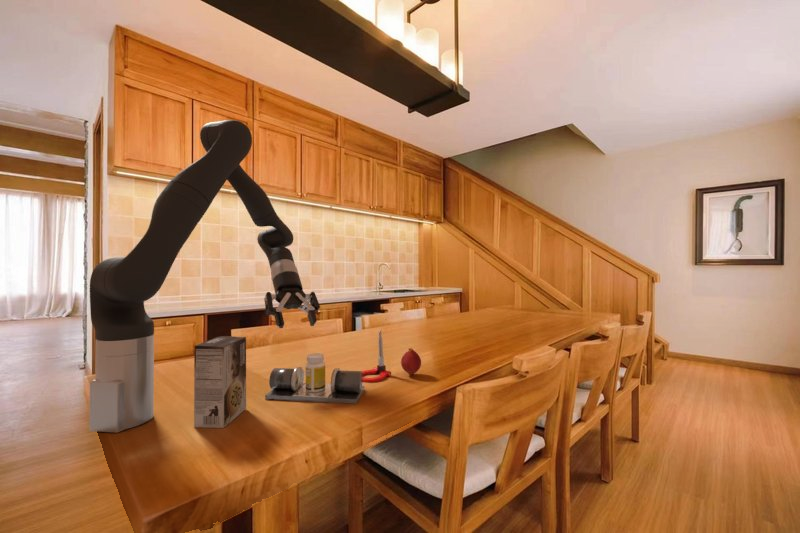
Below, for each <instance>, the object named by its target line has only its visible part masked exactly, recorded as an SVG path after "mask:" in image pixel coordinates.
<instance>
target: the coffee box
mask: <svg viewBox="0 0 800 533" xmlns="http://www.w3.org/2000/svg"><path fill="white" fill-rule="evenodd" d="M193 349H194V351H193V352H194V356H193V357H194V362H193V363H194V367H193V368H194V369H193V370H194V371H193V372H194V379H193V380H194V381H193V383H194V384H193V385H194V389H193V393H194V394H193V397H194V398H193V399H194V400H193V404H194V405H193V428H211V429H213V428H214V429H215V428H217V429H225V428H226V427H227V426H228V425H229V424H230V423H232V422H233V421H234V420H235V419H236V418H237V417H239V416H240V415H241V414H242V413H243V412H244V411H245V410H246V409H247V336H232V335H231V336H228V335H224V336H222V335H220V336H216V337H214V338H212V339H209V340H205V341H203V342H201V343H198V344H195V345H194V348H193Z"/></svg>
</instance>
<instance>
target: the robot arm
mask: <svg viewBox="0 0 800 533" xmlns="http://www.w3.org/2000/svg"><path fill="white" fill-rule="evenodd" d="M199 138H200V143H201V145H202V147H203V149H204V150H205V154H203V156H202V157H200V158H199V159H196V161H194V162H192V163H191V164H190V165H188V166H187V167H185V168H183V169H182V170H181V171H180V172H178V173H177V174H175V176H173V177H172V178H171V180H170V181H169V182H168V183H167V184H166V186H165V187H164V188H163V190H162V191H161V193H160V194H159V195H158V197H157V198H156V200H155V202H154V204H153V208H152V212H151V218H150V223H149V225H148V227H147V230H146V232H145V233H144V235H143V236H142V238H141V239H140V240H139V242H138V243H137V244H136V245H135V247H134V248H133V249H132V250H131V251H130V252H129V253H128V254H127V255H126V256H123V257H122V256H117V257H110V258H107V259H104V260H102V261H101V262H99V263H98V264H97V265H96V266H95V267H94V269H92V270H93V271H92V272H91V275H90V281H89V306H90V308H89V309H90V321H91V324H92V326H93V329H94V334H95V350H94V351H95V360H94V363H95V364H94V365H95V366H94V367H95V368H94V371H95V372H94V379H92V380H90V382H89V418H88V419H89V422H88V423H89V427H88V428H89V429H88V431H89V432H102V433H103V432H104V433H116V434H117V433H120V432H122V431H124V430H129V429H132V428H135V427H138V426H141V425H143V424H145V423H147V422H149V421H150V420H152V419H153V418H154V412H155V411H154V408H155V406H154V401H155V400H154V396H155V395H154V394H155V393H154V390H155V389H154V387H155V386H154V385H155V384H154V383H155V379H154V378H155V373H154V371H155V370H154V369H155V362H154V361H155V351H154V350H155V323H154V320H153V318H151V317H150V316H149V315H148V313H147V312H146V309H145V302H146V301H148V300H150V299H151V298H153V297H155V296H156V295H157V293H158V292H159V291H160V289H161V288H162V286H163V284H164V282H165V281H166V279H167V277H168V274H169V273H170V271H171V269H172V267H173V264H174V262H175V260H176V258H177V256H178V254H179V253H180V252H181V250H182V248H183V246H184V245H185V243H186V242H187V241H188V240H189V238H190V236H191V235H192V233H193V231H194V230H195V229H196V227H197V225H198V224H199V222H200V221H201V220H202V219H203V216H204V215H205V214H206V213H207V211H208V209H209V208H210V206H211V205H212V203H213V201H214V199H215V198H216V196H217V195H218V194H219V192H220V190H221V189H222V187H223V186H224V184H225V183H226V181H228V183H229V184H230V185H231V187H232V188H233V189H234V191H235V192H236V194H237V195H238V197H239V198H240V200H241V202H242V203H243V206H245V209H246V211H247V213H248V214H249V216H250V218H251V220H252V222H253V224H255V226H257V227H260V228H262V227H263V228H264V227H270V228H269V229H265V230H262V231H261V232H259V233H258V235H257V238H256V239H257V244H258V246H259V247H260V248H261V250H262V252H263V253H264V254H265V256H266V258H267V261H268V264H269V268H270V275H271V281H272V285H273V290H274V293H272V292H270V291H267V292H266V294H265V296H264V306H265V314H266V315H267V316H273V317H274V320H275V324H276V326H277V327H278V328H279V329H283V328H284V326H285V321H284V317H283V312H282V311H283V309H286V310H292V309H295V310H297V309H299V310H300V311H301V312H304V313H306V314H307V319H308V321H309V325H310V327H314V326H315V324H316V323H317V320H318V319H317V315H316V314H317V313H318V312H319V309H320V308H321V306H320V303H319V301H318V297H317V296H316V293H315V291H311V292H310V293H305V292H304V290H303V284H302V282H301V278H300V274H299V270H298V268H297V266H296V264H295V261H294V257H293V253H292V251H291V250H290V249H289V248H288V247H290V246H291V245H292V244H293V242H294V235H293V232H292V230H290V228H289V227H288V226H287V224H285V222H283V220H281V218H280V217H279V215H278V214H277V213H276V210H275V209H274V207H273V204H272V202H271V200H270V198H269V196H268V195H267V193H266V192H265V190H264V188H262V187H261V186H260V185H259V184H258V183H257V182H256V181H255V180H254V179H253V178H252V177H251V176H250V175H249V174H248V173H247V172H246V171H245V170H244V169H243V167H242V166H241V162H243V160H244V159H245V158H246V157H247V156H248V154H249V153H250V151H251V148H252V144H253V136H252V132H251V130H250V128H249V127H248V126H247V125H246V124H245V123H244V122H242V121H240V120H235V119H225V120H218V121H211V122H207V123H205V124H204V125H203V126H202V127H201V129H200V133H199ZM274 300H275V301H276V302H278V306H277V307H276V308H274V304H273V302H274Z"/></svg>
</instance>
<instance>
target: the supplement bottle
mask: <svg viewBox="0 0 800 533" xmlns="http://www.w3.org/2000/svg"><path fill="white" fill-rule="evenodd" d="M324 358H325V357H324V353H311V354H310V353H309V354H307V356H306V364H305V366H304V367H305V371H304V372H305V373H304V374H305V383H306V391H308V392H320V391H323V390H324V389H325V386H326V385H325V384H326V363H325V362H324Z"/></svg>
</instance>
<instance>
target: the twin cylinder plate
mask: <svg viewBox="0 0 800 533" xmlns="http://www.w3.org/2000/svg"><path fill="white" fill-rule="evenodd" d="M362 371H363V370H362ZM362 371H361V370H341V369H340V368H338V367H337V368H336V367H335V368H333V370H332V373H331V377H330V383H325V385H326V386H325V389H324V390H323V391H320V392H308V391H306V382H305V383H304V381H305V380H304V378H305V373H304V372H305V371H304V369H303V367H302V366H296V367H295V368H285V367H283V368H282V367H274V368H273V369H272V370H271V372H270V376H269V379H268V381H269V383H268V385H269V388H270V389H271V390H270V391H269V392H267V393H265V395H264V400H269V399H274V400H275V401H294V402H309V403H310V402H311V403H312V402H314V403H315V402H316V403H333V404H334V403H335V404H353V405H355V404H357V403H358V401H359V399H360V398H361V396H362V394H363V393H364V391H365V385H363V383H364V382H363V377H364V375H362ZM274 400H273V401H274Z"/></svg>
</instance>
